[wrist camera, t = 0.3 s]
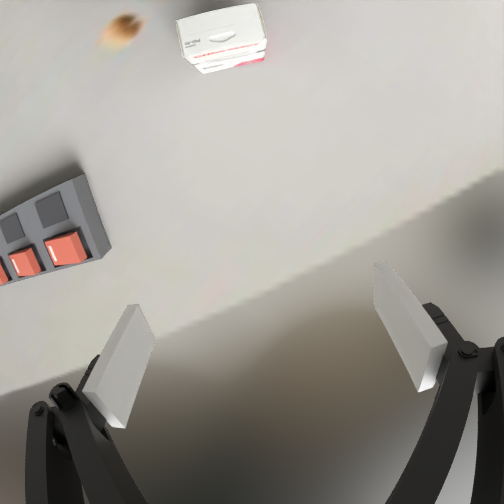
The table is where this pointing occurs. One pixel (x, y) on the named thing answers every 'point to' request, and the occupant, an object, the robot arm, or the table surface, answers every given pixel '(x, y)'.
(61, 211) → the power strip
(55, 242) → the rocker
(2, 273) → the rocker
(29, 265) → the rocker
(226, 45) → the ink box
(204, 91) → the table surface
